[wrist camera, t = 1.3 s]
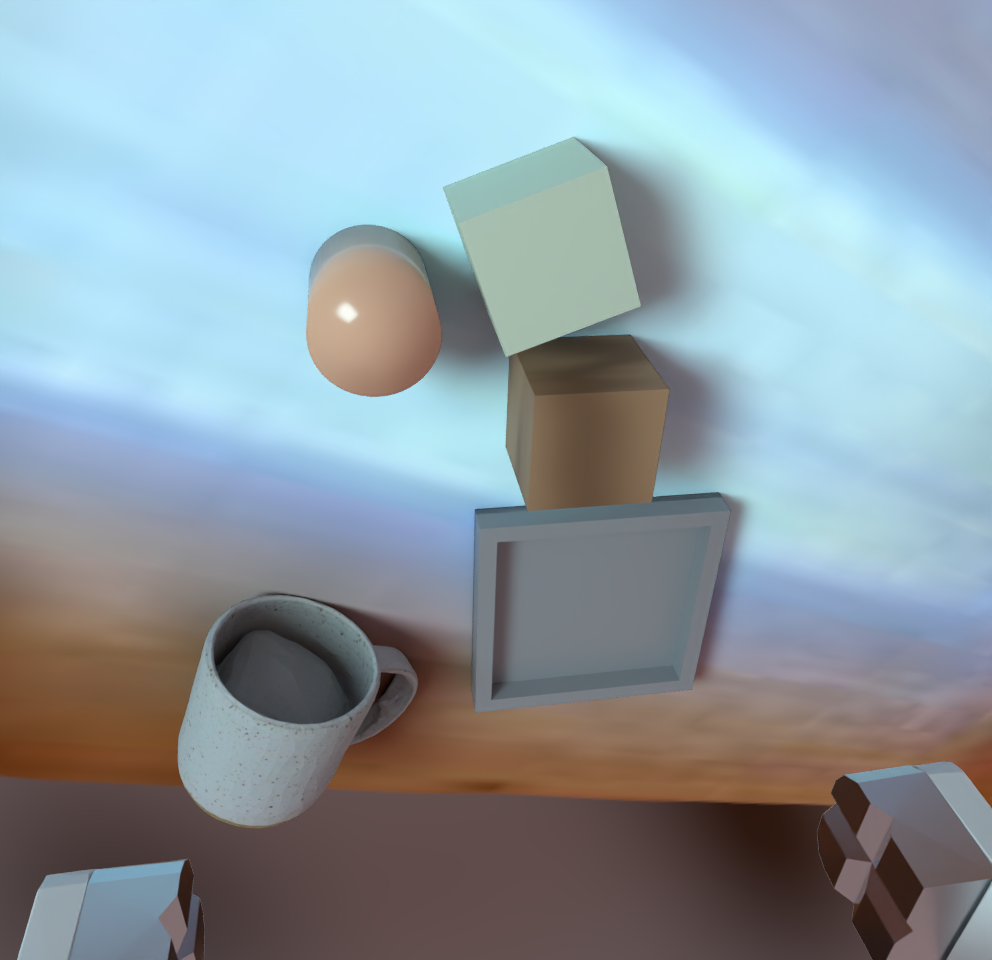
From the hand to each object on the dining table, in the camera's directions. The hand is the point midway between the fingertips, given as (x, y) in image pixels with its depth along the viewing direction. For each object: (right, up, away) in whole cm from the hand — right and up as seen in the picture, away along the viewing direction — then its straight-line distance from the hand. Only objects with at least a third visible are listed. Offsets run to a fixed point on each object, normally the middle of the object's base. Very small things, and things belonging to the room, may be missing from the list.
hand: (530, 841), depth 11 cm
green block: (+1, +14, +22) cm, 26 cm away
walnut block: (+3, +8, +26) cm, 27 cm away
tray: (+4, -1, +32) cm, 32 cm away
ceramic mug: (-10, -4, +31) cm, 33 cm away
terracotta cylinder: (-5, +12, +22) cm, 25 cm away
